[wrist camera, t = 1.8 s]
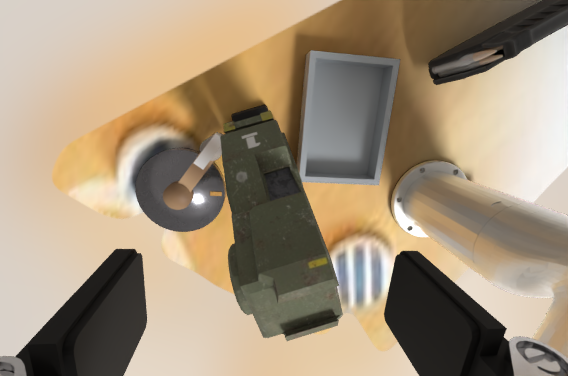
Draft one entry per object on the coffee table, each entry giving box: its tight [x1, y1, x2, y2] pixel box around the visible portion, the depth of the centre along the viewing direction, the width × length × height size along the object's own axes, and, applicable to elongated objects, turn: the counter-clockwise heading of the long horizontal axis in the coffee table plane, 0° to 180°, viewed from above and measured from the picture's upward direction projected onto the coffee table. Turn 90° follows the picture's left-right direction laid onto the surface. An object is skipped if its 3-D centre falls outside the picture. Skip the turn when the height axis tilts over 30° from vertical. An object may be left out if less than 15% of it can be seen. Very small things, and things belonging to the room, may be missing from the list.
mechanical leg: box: [220, 105, 343, 341], centre depth 27 cm, size 14×7×30 cm, turn 15°
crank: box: [163, 132, 223, 210], centre depth 34 cm, size 13×4×8 cm, turn 141°
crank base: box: [136, 148, 226, 232], centre depth 40 cm, size 12×12×2 cm
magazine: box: [428, 0, 568, 85], centre depth 34 cm, size 17×3×30 cm
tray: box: [296, 50, 400, 185], centre depth 39 cm, size 12×17×3 cm
